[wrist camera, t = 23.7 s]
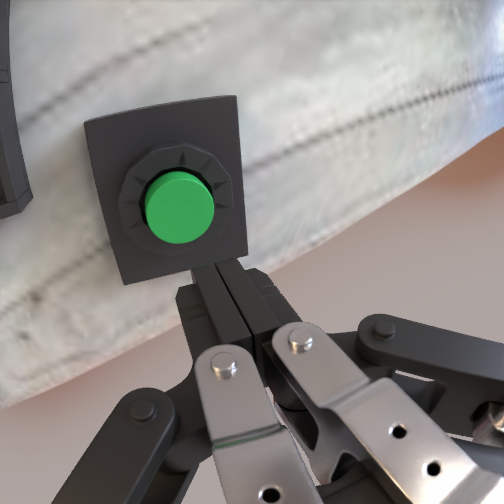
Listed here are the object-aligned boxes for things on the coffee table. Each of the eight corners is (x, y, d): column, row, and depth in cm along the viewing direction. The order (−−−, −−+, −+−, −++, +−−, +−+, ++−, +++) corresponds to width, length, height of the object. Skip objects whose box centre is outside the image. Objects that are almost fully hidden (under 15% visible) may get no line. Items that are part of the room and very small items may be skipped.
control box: (88, 119, 16) (78, 124, 13) (226, 95, 19) (247, 95, 15) (123, 269, 22) (124, 301, 19) (238, 242, 24) (258, 268, 21)
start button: (139, 178, 16) (140, 187, 14) (203, 165, 17) (210, 172, 15) (151, 237, 18) (153, 250, 16) (210, 223, 19) (217, 236, 17)
